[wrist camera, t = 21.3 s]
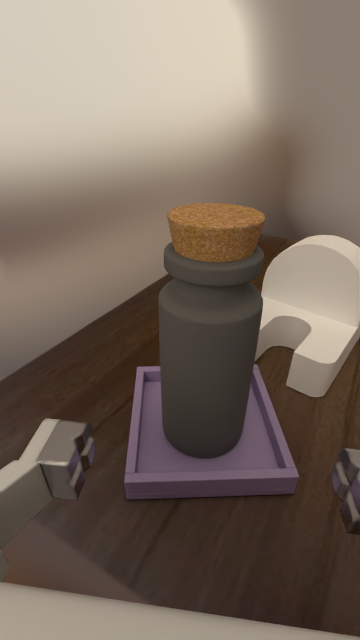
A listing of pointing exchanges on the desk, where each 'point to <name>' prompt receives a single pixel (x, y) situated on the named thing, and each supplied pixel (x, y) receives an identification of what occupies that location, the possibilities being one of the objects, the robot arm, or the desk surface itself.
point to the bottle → (209, 325)
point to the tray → (205, 473)
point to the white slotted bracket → (312, 309)
